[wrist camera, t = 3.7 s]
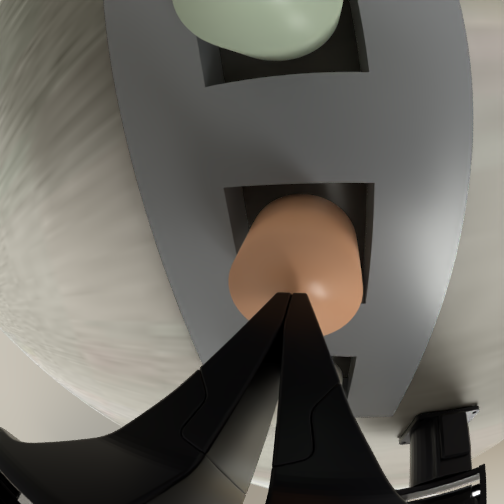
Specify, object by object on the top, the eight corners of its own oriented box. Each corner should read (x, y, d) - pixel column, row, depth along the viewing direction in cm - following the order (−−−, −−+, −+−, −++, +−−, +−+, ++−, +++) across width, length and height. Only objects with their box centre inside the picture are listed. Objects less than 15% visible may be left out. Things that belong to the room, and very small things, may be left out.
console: (391, 392, 17) (392, 416, 15) (229, 383, 20) (221, 405, 19) (414, -66, 4) (426, -86, 2) (129, -27, 7) (101, -35, 5)
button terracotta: (354, 287, 11) (356, 340, 9) (257, 285, 12) (240, 335, 10) (358, 192, 9) (368, 233, 7) (242, 195, 10) (216, 233, 8)
